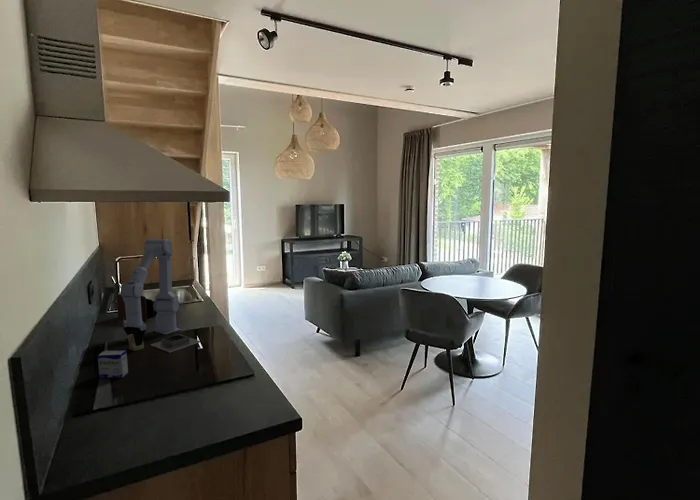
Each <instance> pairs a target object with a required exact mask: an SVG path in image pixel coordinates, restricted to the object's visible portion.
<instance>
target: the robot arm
mask: <svg viewBox="0 0 700 500" xmlns="http://www.w3.org/2000/svg"><path fill="white" fill-rule="evenodd" d="M143 250H144V252H143V255H142V257H141V260H140V262H139V265H138V266H137V267H135V268H134V269H133V271H132V273H131V275H130V277H129V278H128V281H127V282H126V283H125V284H123V285H122V286H121V288H120V291H119V294H121V296H122V297H123V301H124V302H125V311H126V320H125V319H122V321H123V328H122V329H123V331H124V332H125V333H126V335H127V337H128V335H130V334H133V336H134V339H135V344H136V346H139V345H142V342H143V343H144V336H145V333H146V332H147V324H145V322H143V321H142V312H141V300H140V296H143V294H144V287H145V286H144V284H145V281H146V280H147V277H148V275H149V272H148V270H149V267H150V266H151V264H152V263H153V261H154V259H155V257H156V258H157V259H158V275H159V276H158V284H159V285H158V287H159V292H158V293H157V294H156V295H155V296H154V301H155V302H154V309H155V311H156V312H157V314H156V317H155V319H154V320H155V329H154V332H156V333H159V334H162V335H169V334H171V333H176V332H179V331H181V330H182V329H181V328H179V327H177V326H178V325H177V316H176V315H177V314H176V312H178V310H179V308H180V301H179V297H178V296H179V295H177V294H176V293H175V292H173V280H172V256H173V242H171V240H170V239H169V238H148V239H146V241H145V242H144V245H143Z"/></svg>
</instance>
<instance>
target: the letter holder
mask: <svg viewBox="0 0 700 500" xmlns="http://www.w3.org/2000/svg"><path fill="white" fill-rule="evenodd" d="M116 300H117V301H116V306H117V319H118V318H124V319H123V320H125V319H126V311H125V302H124V301H123V297H122V296H121V294H120V293H119V294H117V295H116ZM140 300H141V312H142V321H143V323H148V322H151V321H153V319H154V320H155V317H156V314H157V312H156V311H155V309H154V302H155V300H152V299H150V298H147V297H145V296H144V295H141V296H140Z"/></svg>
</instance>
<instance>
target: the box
mask: <svg viewBox="0 0 700 500" xmlns="http://www.w3.org/2000/svg"><path fill="white" fill-rule="evenodd" d="M127 353H128V352H127V349H120V350H119V349H118V350H103V351H102V352H101V353H99V354H98V355H97V362H98V375H99V376H98V377H99V379H100V380H103V379H120V378H121V379H122V378H124V377H125V376H126V375H127V374H128V373H129V368H128V367H129V366H128V356H127Z"/></svg>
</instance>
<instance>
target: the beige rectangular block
mask: <svg viewBox="0 0 700 500" xmlns="http://www.w3.org/2000/svg"><path fill="white" fill-rule="evenodd" d="M127 339H128V350H131V351H134V352H136V351H139V350H142V349H144V348H145V346H144V341H143V342H142V345H139V346H136V344H135V339H134V336H133V334H130V335H128V336H127Z"/></svg>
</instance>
